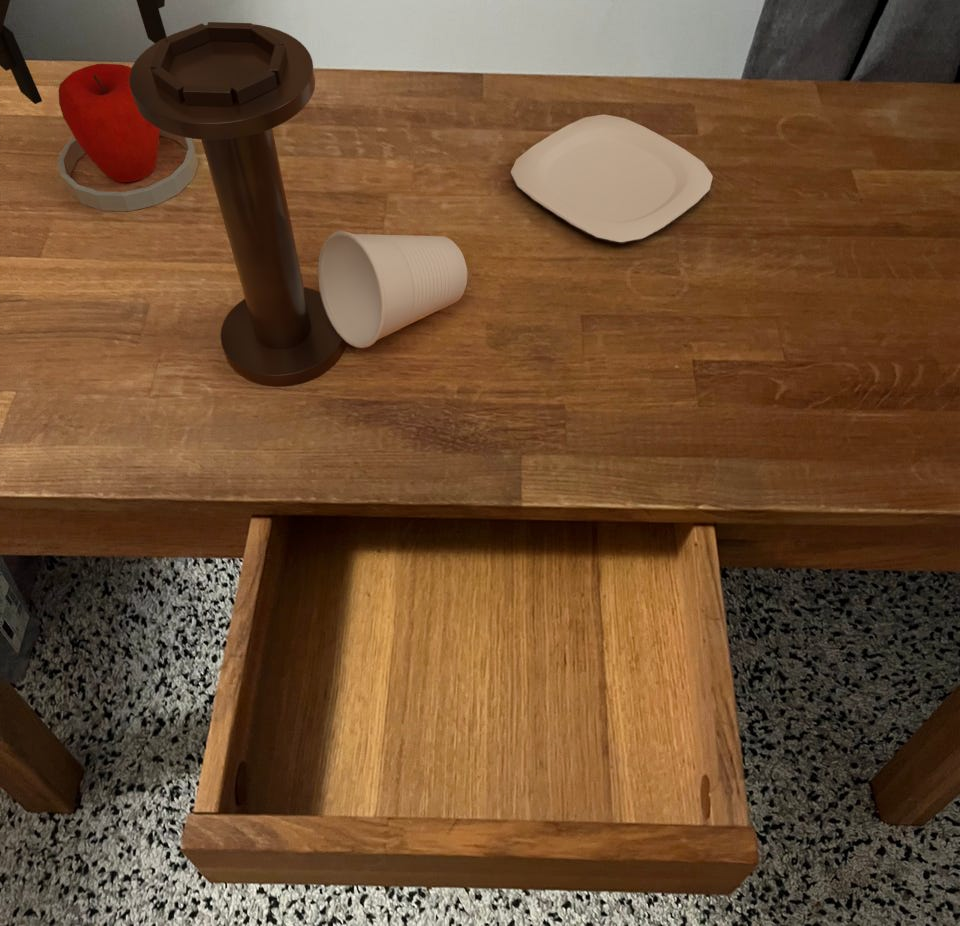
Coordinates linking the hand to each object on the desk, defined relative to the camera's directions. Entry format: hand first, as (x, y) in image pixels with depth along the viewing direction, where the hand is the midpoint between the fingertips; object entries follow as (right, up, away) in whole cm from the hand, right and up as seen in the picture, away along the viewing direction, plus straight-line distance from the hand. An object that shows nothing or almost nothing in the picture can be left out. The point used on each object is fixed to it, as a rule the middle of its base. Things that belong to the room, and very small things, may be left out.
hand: (97, 69), depth 84 cm
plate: (+51, -8, +9) cm, 52 cm away
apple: (0, -7, +9) cm, 11 cm away
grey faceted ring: (0, -7, +9) cm, 11 cm away
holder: (+19, -27, -5) cm, 33 cm away
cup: (+34, -20, -3) cm, 40 cm away
